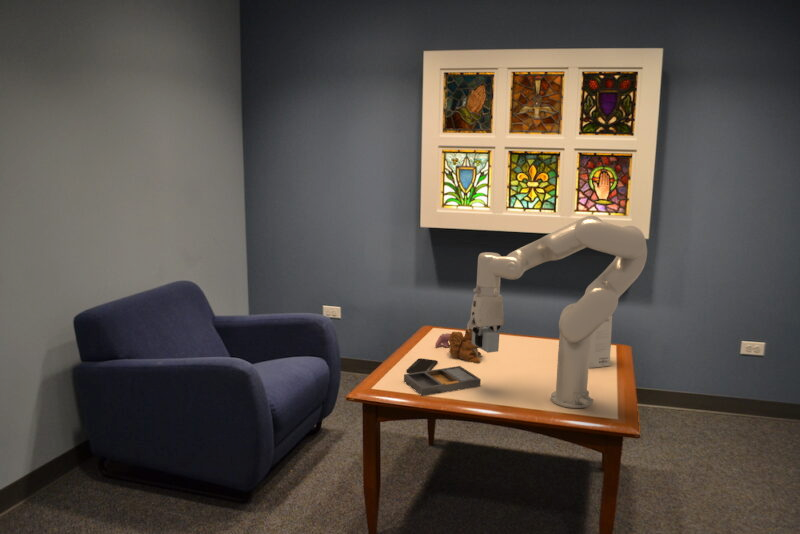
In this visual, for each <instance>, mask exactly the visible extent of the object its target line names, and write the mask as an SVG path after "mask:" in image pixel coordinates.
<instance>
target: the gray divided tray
mask: <svg viewBox="0 0 800 534" xmlns="http://www.w3.org/2000/svg"><path fill="white" fill-rule="evenodd" d="M403 382H404V383H405V382H406V383H405V384H407V385H408V386H409V387H410V386H411V387H410V388H411V389H412V390H414V389H415V390H416V391H415V390H414V391H415V392H416V393H418V394H419V395H420V394H421V395H420V396H422V397H424V396H423V395H425V396H429V395H435V394H436V393H437V394H441V393H442V392H443V393H447V391H449V392H454V391H453V390H455V391H459V390H458V389H460V390H466V389H473V388H478V387H481V378H480V377H478V376H477V375H475V374H474V373H472V372H470V371H469V370H467V369H465V368H464V367H462V366H461V365H458V366H452V367H451V366H450V367H444V368H438V369H432V370H430V371H423V372H417V373H404V374H403ZM465 388H466V389H465Z"/></svg>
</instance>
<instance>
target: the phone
mask: <svg viewBox="0 0 800 534" xmlns="http://www.w3.org/2000/svg"><path fill="white" fill-rule="evenodd" d="M437 365H438V360H435V359H428V358H417V359H416V360H415V361H414V362H413V363H412V364H411V365H410V366H409V367H408V368H406V370H405V371H406V372H405V374H410V373H417V372H423V371H430V370H434V368H435V367H436V366H437Z"/></svg>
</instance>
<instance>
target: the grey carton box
mask: <svg viewBox="0 0 800 534" xmlns="http://www.w3.org/2000/svg"><path fill="white" fill-rule="evenodd" d="M613 318H614V315H613V314H612V315H611V316H610V317H609V318H608V319H607V320H606V321H605V322H604V323H603V324H602V325H601V326H600V327H599V328H598V329H597V330H596V331H595V332H594V333H592V334H591V343H590V356H589V369H593V368H603V367H604V368H605V367H610V365H611V351H612V350H611V347H612V335H613V333H612V331H613Z"/></svg>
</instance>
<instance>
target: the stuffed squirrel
mask: <svg viewBox="0 0 800 534" xmlns="http://www.w3.org/2000/svg"><path fill="white" fill-rule="evenodd" d="M473 326H475V324H473ZM449 334H450V337H449V341H448V343H449V346H448V347H449V351H448V352H449V354H450V356H451V357H452V358H454V359H457V360H458V359H460V360H461V359H462V360H463V361H465V362H468V363H472V362H473V363H474V364H475V363H476V364H480V363H481V359H480V358H479V357H481V356H482V353H481V352H480V351H479V350H478V349H480V348H479V347H477V346H475V345H473V344H472V330H471V329H470V328H468V327H467V326H466V328H465V334H463V332H461V331H452V332H451V333H449Z"/></svg>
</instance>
